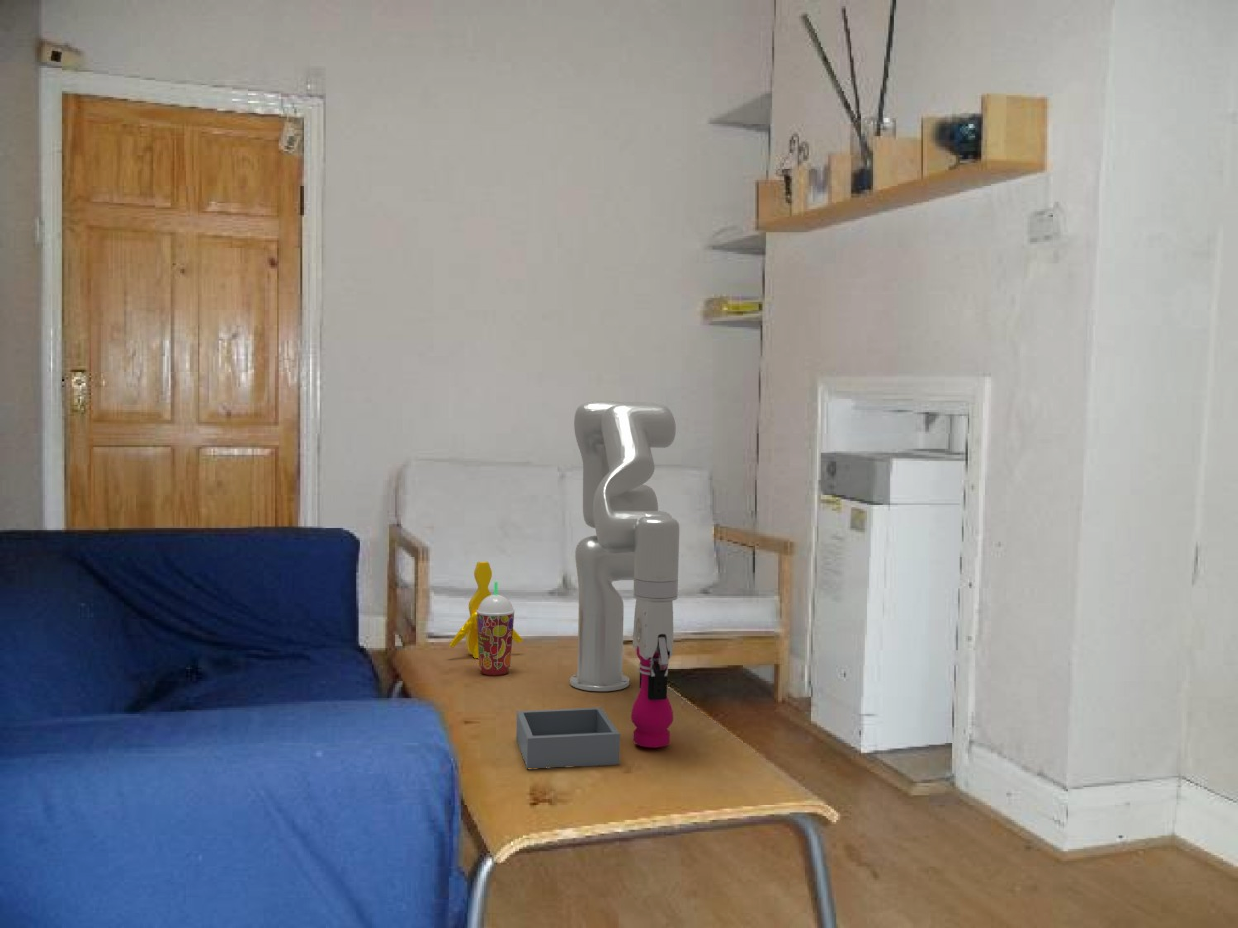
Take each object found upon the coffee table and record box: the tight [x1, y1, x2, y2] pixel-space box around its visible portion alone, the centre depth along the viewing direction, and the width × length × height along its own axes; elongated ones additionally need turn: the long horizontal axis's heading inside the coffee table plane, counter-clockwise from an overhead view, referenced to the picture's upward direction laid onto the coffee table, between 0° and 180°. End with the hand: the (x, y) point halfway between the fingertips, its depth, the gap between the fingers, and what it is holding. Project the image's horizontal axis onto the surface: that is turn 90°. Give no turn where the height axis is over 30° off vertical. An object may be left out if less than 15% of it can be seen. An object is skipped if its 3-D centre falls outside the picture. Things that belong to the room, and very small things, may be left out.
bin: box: [515, 707, 621, 769], centre depth 164 cm, size 15×15×5 cm
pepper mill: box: [630, 646, 674, 748], centre depth 168 cm, size 7×7×20 cm
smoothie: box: [476, 581, 516, 676], centre depth 215 cm, size 8×8×20 cm
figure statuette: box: [448, 561, 524, 659], centre depth 231 cm, size 18×8×22 cm, turn 113°
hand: (652, 692), depth 168 cm, fingers closed on pepper mill, 5 cm apart
